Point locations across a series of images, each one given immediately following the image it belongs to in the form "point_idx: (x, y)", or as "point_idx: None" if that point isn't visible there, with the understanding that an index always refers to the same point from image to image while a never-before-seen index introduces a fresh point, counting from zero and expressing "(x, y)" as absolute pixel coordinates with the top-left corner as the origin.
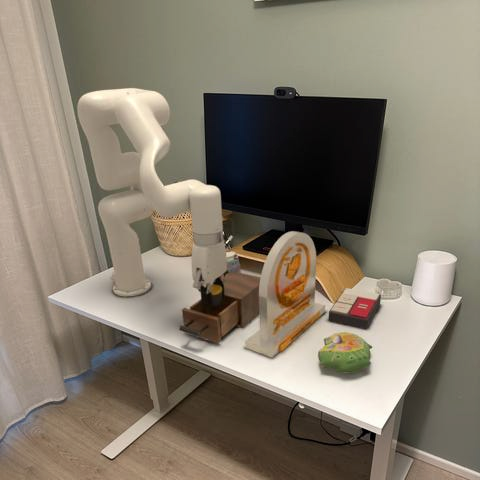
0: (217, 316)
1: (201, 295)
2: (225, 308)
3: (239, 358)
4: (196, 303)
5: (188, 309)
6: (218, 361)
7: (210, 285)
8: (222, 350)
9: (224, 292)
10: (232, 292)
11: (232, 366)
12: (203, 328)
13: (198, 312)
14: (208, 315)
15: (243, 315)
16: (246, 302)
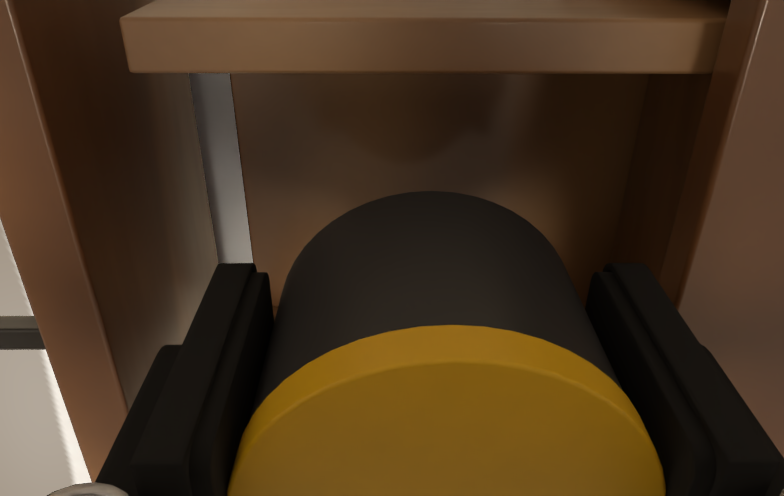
0: (537, 119)
1: (172, 385)
2: (651, 190)
3: None
4: (292, 56)
5: (12, 85)
6: (58, 391)
7: (581, 431)
8: None
9: (742, 345)
10: (767, 430)
11: (83, 471)
12: (28, 348)
13: (69, 278)
14: (104, 421)
15: None
16: None
